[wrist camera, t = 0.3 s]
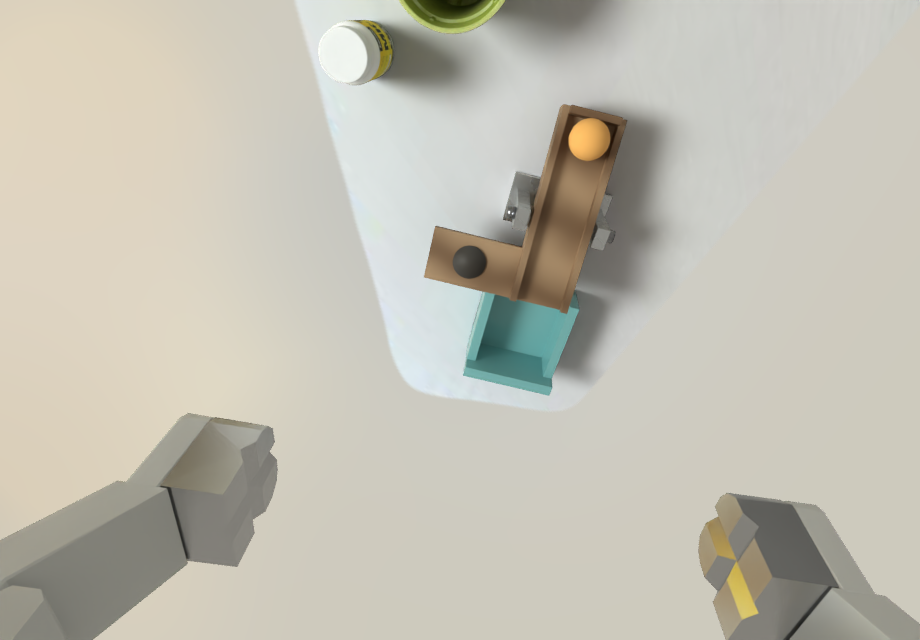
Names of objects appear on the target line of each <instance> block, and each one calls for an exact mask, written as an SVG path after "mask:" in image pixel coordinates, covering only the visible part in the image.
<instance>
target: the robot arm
mask: <svg viewBox="0 0 920 640" xmlns="http://www.w3.org/2000/svg"><path fill="white" fill-rule="evenodd" d="M274 442H275V441H274V435H273V428H271V427H269V426H264V425H257V424H252V423H246V422H241V421H235V420H229V419H223V418H217V417H215V418H214V417H208V416H202V415H197V414H191V413H188V414H186V415H184V416H182V417H180V418H179V419H178V421H177V422H176V423H175V424H174V425H173V427H172V428H171V429H170V430H169V431H168V432H167V434H166V435H165V436H164V437H163V438H162V440H161V441H160V442H159V443H158V444H157V446H156V447H155V448H154V449H153V450H152V451H151V453H150V454H149V455H148V456H147V458H146V459H145V460H144V461H143V462H142V464H141V465H140V466H139V467H138V468H137V469H136V471H135V472H134V473H133V474H132V475H131V477H130V478H129V479H128V480H127V481H126V482H123V481H116V482H114V483H112V484H110V485H108V486H106V487H104V488H102V489H100V490H99V491H96V492H94V493H92V494H91V495H88V496H86V497H85V498H83V499H80V500H79V501H77V502H75V503H73V504H71V505H69V506H67V507H65V508H63V509H61V510H59V511H57V512H55V513H53V514H51V515H49V516H47V517H45V518H43V519H41V520H39V521H37V522H35V523H33V524H31V525H29V526H27V527H25V528H23V529H21V530H19V531H17V532H15V533H13V534H11V535H9V536H7V537H5V538H4V539H1V540H0V640H93V639H94V638H95V637H97V636H98V635H99V634H100V633H102V632H103V631H104V630H106V629H107V628H108V627H109V626H111V624H113V623H114V622H115V621H117V620H118V619H119V618H120V617H122V616H123V615H124V614H126V613H127V612H128V611H129V610H131V609H132V608H133V607H134V606H136V605H137V604H138V603H139V602H141V601H142V600H143V599H144V598H146V597H147V596H148V595H149V594H151V593H152V592H153V591H154V590H156V589H157V588H158V587H159V586H161V585H162V584H163V583H164V582H166V581H167V580H168V579H169V578H171V577H172V576H173V575H174V574H176V573H177V572H178V571H179V570H180V569H182V568H183V567H184V566H186V565H187V563H188V562H187V561H194V562H202V563H211V564H218V565H227V566H235V567H237V566H238V564H239V562H240V560H241V558H242V556H243V554H244V552H245V550H246V548H247V546H248V545H249V543H250V541H251V539H252V537H253V535H254V526H253V519H254V518H256V517H257V516H259V515H260V514H262V513H263V512H265V511H266V509H267V507H268V505H269V503H270V500H271V498H272V495H273V492H274V488H275V485H276V481H277V470H278V469H277V460H276V458H275V457H274V456H273V455H272V454H271V453H270V450H271V448H272V446H273V444H274ZM715 508H716V511H717V513H718V517H717V518H714V519H713V520H711V521H709V522H707V523H706V524H705V526H704V528H703V530H702V532H701V534H700V540H699V559H700V564H701V568H702V571H703V574H704V577H705V578H706V579H707V580H708V581H709V582H710V583H711V585H712V586H713V587H714V588H715V589H716V590H717V594H716V596H715V599H714V601H713V604H714V607H715V610H716V613H717V615H718V618H719V621H720V624H721V627H722V630H723V632H724V635H725V639H726V640H920V624H919V623H918V622H917V621H916V620H914V619H913V618H912V617H911V616H909V615H908V614H907V613H905V612H904V611H903V610H902V609H901V608H899V607H898V606H897V605H896V604H894V603H893V602H892V601H891V600H890V599H888V598H887V597H886V596H882V595H877V594H875V593H874V591H873V590H872V588H871V586H870V585H869V583H868V582H867V580H866V578H865V577H864V575H863V574H862V572H861V570H860V569H859V567H858V566H857V564H856V563H855V561H854V559H853V558H852V556H851V555H850V553H849V551H848V550H847V548H846V546H845V545H844V543H843V542H842V540H841V539H840V537H839V535H838V534H837V532H836V530H835V529H834V527H833V526H832V524H831V522H830V521H829V519H828V518H827V516H826V515H825V513H824V512H823V511H822V510H821V509H820V508H819V507H817V506H816V505H812V504H805V503H797V502H790V501H781V500H776V499H768V498H761V497H754V496H747V495H739V494H732V493H726V494H725V495H723V496H721V497H720V499H719V500H718V502H717V504H716V506H715Z"/></svg>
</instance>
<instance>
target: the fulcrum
mask: <svg viewBox="0 0 920 640" xmlns="http://www.w3.org/2000/svg"><path fill="white" fill-rule="evenodd" d="M540 179H541V178H540V177H536V176H532V175H528V174H524V173H520V172H516V173H515V177H514V181H513V184H512V188H511V191H510V195H509V199H508V202H507V206H506V209H505V213H504V216H503V220H507V221H511V222H512V229H517V230H521V231H525V228H526V225H527V226H528V223H529V220H530V216H531V212H532V209H533V205H534V201H535V198H536V194H537V190H538V187H539V183H540ZM611 200H612V195H608V194H604V197H603V200H602V203H601V206H600V210H599V213H598V216H597V219H596V222H595V226H594V229H593V232H592V235H591V239H590V242H589V244H590V247H591V248H594V249H598V250H602V251H603V250H604V247H605V245H606V242H608V243H612V242H613V240H614V237H615V231H613V230H610V228H609V226H608V223H607V221H606V219H605V215H606V213H607V210H608V208H609V205H610V203H611Z"/></svg>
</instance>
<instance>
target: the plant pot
mask: <svg viewBox="0 0 920 640" xmlns="http://www.w3.org/2000/svg"><path fill="white" fill-rule="evenodd" d="M505 1H506V0H399V2H400V3H401V5H402V6H403V7H404V9H405V10H406V11H407V12H408V13H409V14H410V16H412V17H413V18H414V19H415V20H416V21H417V22H419V23H420V24H422V25H423V26H425V27H427V28H429V29H431V30H434V31H437V32H440V33H447V34H458V33H464V32H467V31H470V30H473V29H475V28H477V27H479V26H481V25H482V24H484V23H485V22H487V21H488V20H489V19H490V18H492V17H493V16H494V15H495V14H496V12H497V11H498V10H499V9H500V8H501V6H502V5H503V4H504V2H505Z"/></svg>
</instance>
